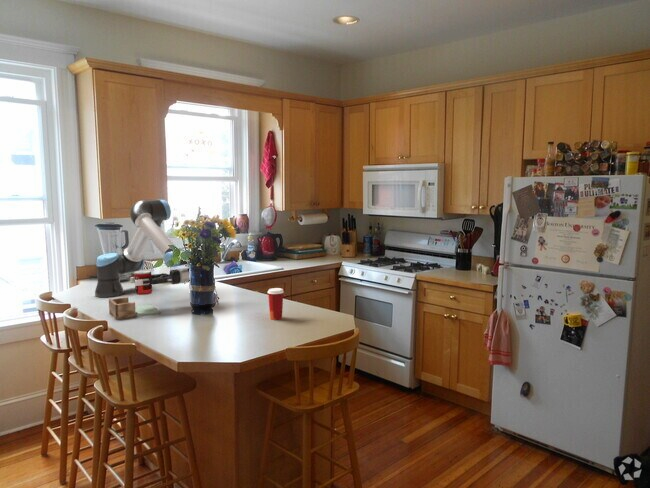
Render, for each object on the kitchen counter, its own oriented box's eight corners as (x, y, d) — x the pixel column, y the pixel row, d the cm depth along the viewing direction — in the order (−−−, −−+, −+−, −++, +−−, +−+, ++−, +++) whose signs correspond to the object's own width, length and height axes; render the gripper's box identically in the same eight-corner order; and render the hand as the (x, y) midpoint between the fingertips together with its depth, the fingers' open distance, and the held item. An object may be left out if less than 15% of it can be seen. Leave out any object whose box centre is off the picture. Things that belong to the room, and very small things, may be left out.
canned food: (137, 291, 251) (136, 270, 249) (154, 291, 251) (153, 270, 250) (133, 295, 243) (132, 273, 242) (150, 294, 244) (148, 272, 242)
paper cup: (286, 317, 238) (286, 288, 236) (280, 321, 231) (279, 291, 229) (271, 315, 241) (271, 287, 239) (264, 319, 233) (264, 290, 232)
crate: (151, 307, 257) (150, 293, 256) (159, 312, 246) (159, 299, 245) (109, 313, 246) (108, 299, 245) (116, 319, 234) (115, 305, 233)
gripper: (186, 286, 249) (139, 292, 236) (172, 280, 265) (128, 285, 252) (185, 271, 248) (138, 277, 235) (172, 266, 265) (127, 271, 252)
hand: (133, 281), depth 244 cm, fingers closed on canned food, 8 cm apart
